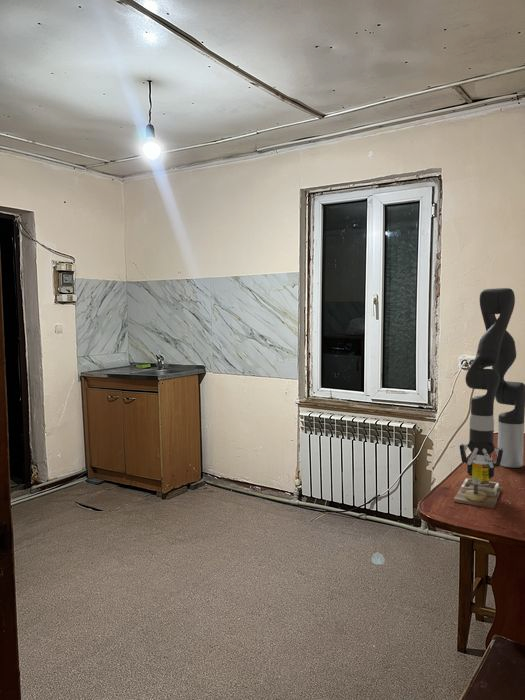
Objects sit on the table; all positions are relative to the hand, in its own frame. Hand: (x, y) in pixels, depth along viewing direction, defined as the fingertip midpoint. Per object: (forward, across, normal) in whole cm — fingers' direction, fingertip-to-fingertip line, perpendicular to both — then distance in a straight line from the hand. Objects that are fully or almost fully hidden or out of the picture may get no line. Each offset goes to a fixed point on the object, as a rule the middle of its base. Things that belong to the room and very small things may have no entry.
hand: (480, 476), depth 177 cm
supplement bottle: (+3, 0, 0) cm, 3 cm away
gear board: (+5, 0, +4) cm, 7 cm away
